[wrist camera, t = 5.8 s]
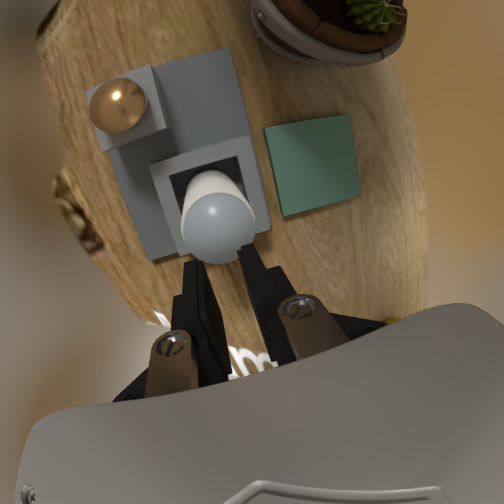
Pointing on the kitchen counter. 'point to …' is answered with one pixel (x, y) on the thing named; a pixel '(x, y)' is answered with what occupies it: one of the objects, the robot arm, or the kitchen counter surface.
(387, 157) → the kitchen counter surface
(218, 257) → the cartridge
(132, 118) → the plunger
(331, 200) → the mat
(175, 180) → the grey base with tray
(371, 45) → the flowerpot
